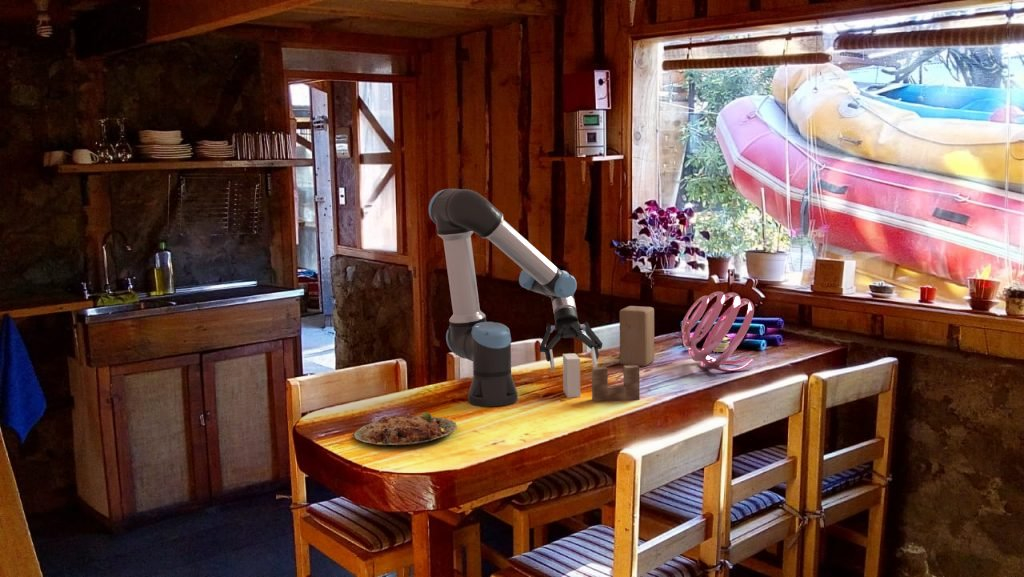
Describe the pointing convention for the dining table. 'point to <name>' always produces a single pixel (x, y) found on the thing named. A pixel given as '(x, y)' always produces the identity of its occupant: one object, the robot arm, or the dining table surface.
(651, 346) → the wooden block
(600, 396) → the slotted walnut plate
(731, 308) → the pink openwork looped piece
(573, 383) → the cream plate
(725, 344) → the stacked layers on plate
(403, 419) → the rice dish
